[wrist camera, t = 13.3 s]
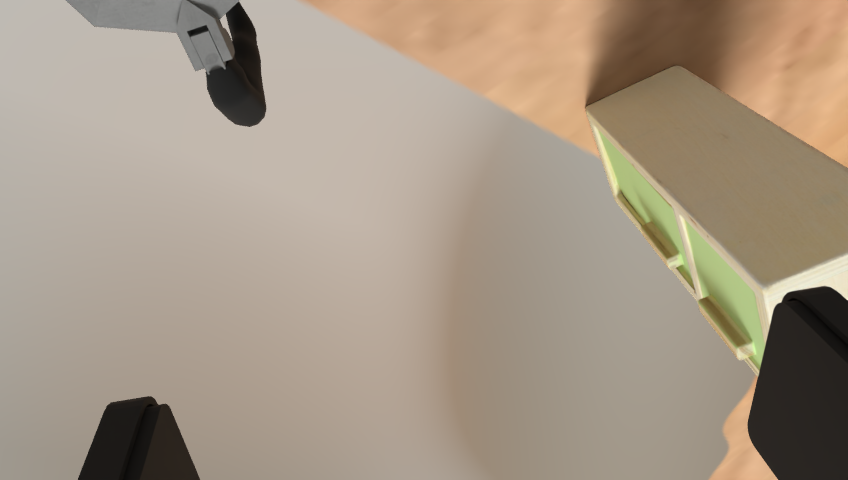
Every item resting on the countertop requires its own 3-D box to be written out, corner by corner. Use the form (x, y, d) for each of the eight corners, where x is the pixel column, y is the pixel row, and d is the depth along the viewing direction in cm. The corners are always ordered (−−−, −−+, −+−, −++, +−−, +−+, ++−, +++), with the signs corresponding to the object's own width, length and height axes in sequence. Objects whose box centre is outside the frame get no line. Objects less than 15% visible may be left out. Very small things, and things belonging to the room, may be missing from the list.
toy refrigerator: (570, 109, 43) (748, 296, 25) (677, 59, 42) (938, 216, 24) (602, 205, 47) (774, 424, 29) (700, 161, 46) (938, 359, 28)
